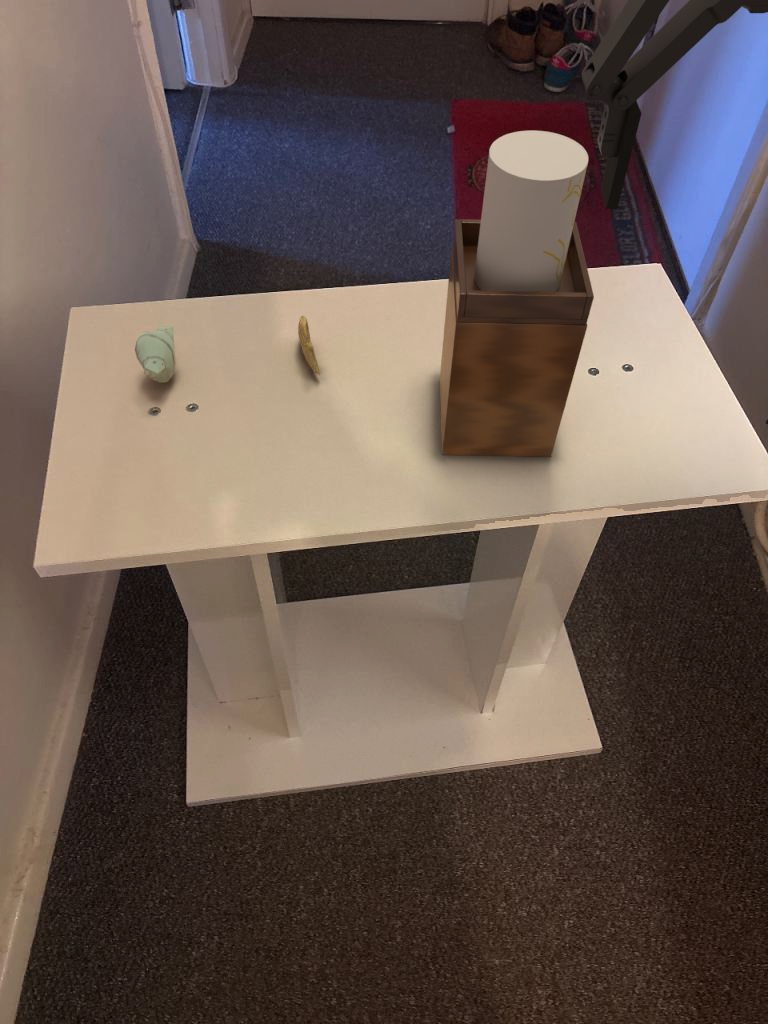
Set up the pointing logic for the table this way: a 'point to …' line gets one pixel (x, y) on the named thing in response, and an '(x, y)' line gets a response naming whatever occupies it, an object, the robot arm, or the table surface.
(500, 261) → the white patterned cylinder
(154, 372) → the pale green rounded piece
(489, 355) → the stand
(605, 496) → the table surface
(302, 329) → the pastry
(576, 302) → the holder
